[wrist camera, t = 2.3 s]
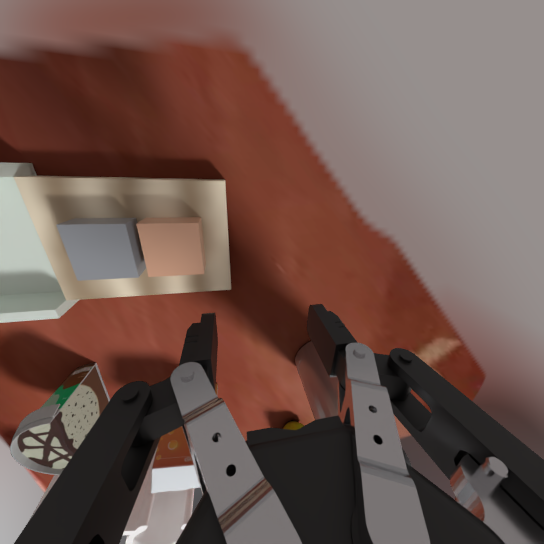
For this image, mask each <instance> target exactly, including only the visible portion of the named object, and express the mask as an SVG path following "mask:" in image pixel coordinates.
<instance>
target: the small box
mask: <svg viewBox="0 0 544 544" xmlns="http://www.w3.org/2000/svg"><path fill="white" fill-rule="evenodd" d="M217 389H218V384H216V387H215V393H216V395H217ZM199 487H200V484H199V481H198V478H197V474H196V471H195V467H194V463H193V460H192V457H191V454H190V450H189V447H188V444H187V441H186V438H185V435H184V432H183V428H182V426H181V427H179V428H177V429H175V430H173V431H171V432H169V433H167V434H165V435H163V436H161V438H160V440H159V443H158V446H157V450H156V453H155V457H154V461H153V466H152V477H151V493H158V492H166V491H180V490H187V489H191V488H199Z"/></svg>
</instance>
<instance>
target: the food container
mask: <svg viewBox="0 0 544 544" xmlns="http://www.w3.org/2000/svg"><path fill="white" fill-rule="evenodd" d="M109 401H110V398H109V395H108V393H107V390H106V387H105V385H104V382H103V379H102V377H101V374H100V371H99V369H98V366H97V363H90V364H86V365H84V366H81V367H79V368H77V369H76V370H75V371H73V372H72V373H71V374H70V375H69V377H68V378H67V379H66V380H65V381H64V382H63V383H62V384H61V386H60V387H59V388H58V389H57V390H56V391H55V392H54V393H53V395H52V396H51V397H50V398H49V399H48V400H47V401H46V403H45V404H44V405H43V406H42V407H41V408H40V409H38V410H36V411H34V412H32V413H30V414H29V415H28V416H26V417H25V418H24V419H23V420H22V422H21V423H20V425H19V427H18V429H17V431H16V433H15V434H14V437H13V439H12V444H11V447H10V451H11V455H12V457H13V458H14V459H15V460H16V461H17V462H18V463H19V464H20V465H22V466H24V467H26V468H28V469H30V470H33V471H36V472H40V473H45V474H53V475H60V474H61V473H62V471H63V470H64V468H65V467H66V465H67V464H68V462H69V461H70V459H71V458H72V456H73V455H74V453H75V452H76V450H77V449H78V447H79V446H80V444H81V443H82V442H83V440H84V439H85V437H86V436H87V434H88V433H89V431H90V430H91V428H92V427H93V425H94V424H95V422H96V421H97V419H98V418H99V416H100V415H101V413H102V412H103V410H104V409H105V407H106V406H107V404H108V403H109Z"/></svg>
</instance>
